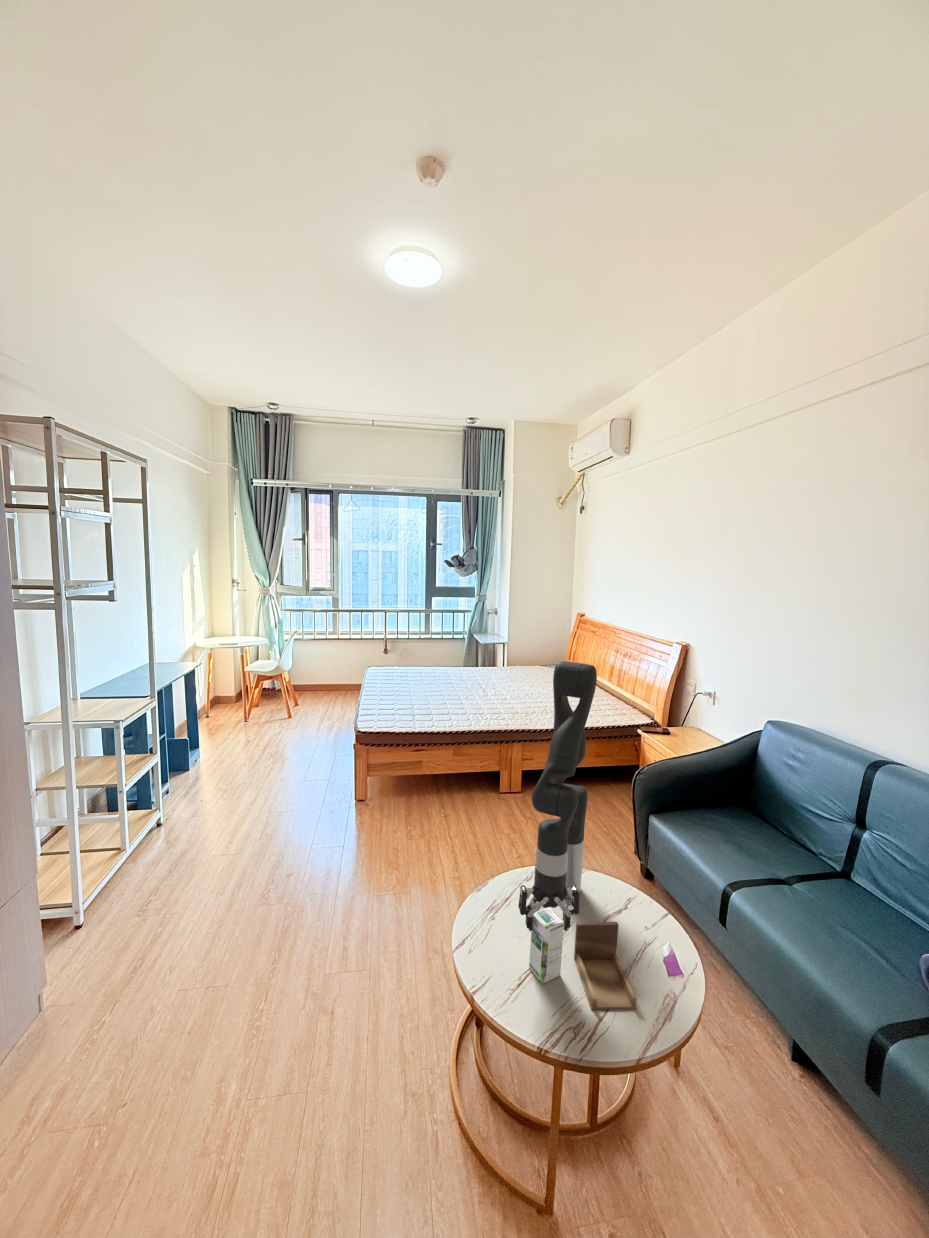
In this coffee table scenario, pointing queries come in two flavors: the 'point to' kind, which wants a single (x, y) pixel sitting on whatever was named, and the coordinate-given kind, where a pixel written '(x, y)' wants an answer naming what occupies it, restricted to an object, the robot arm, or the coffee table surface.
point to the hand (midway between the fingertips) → (547, 928)
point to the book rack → (602, 966)
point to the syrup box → (546, 945)
